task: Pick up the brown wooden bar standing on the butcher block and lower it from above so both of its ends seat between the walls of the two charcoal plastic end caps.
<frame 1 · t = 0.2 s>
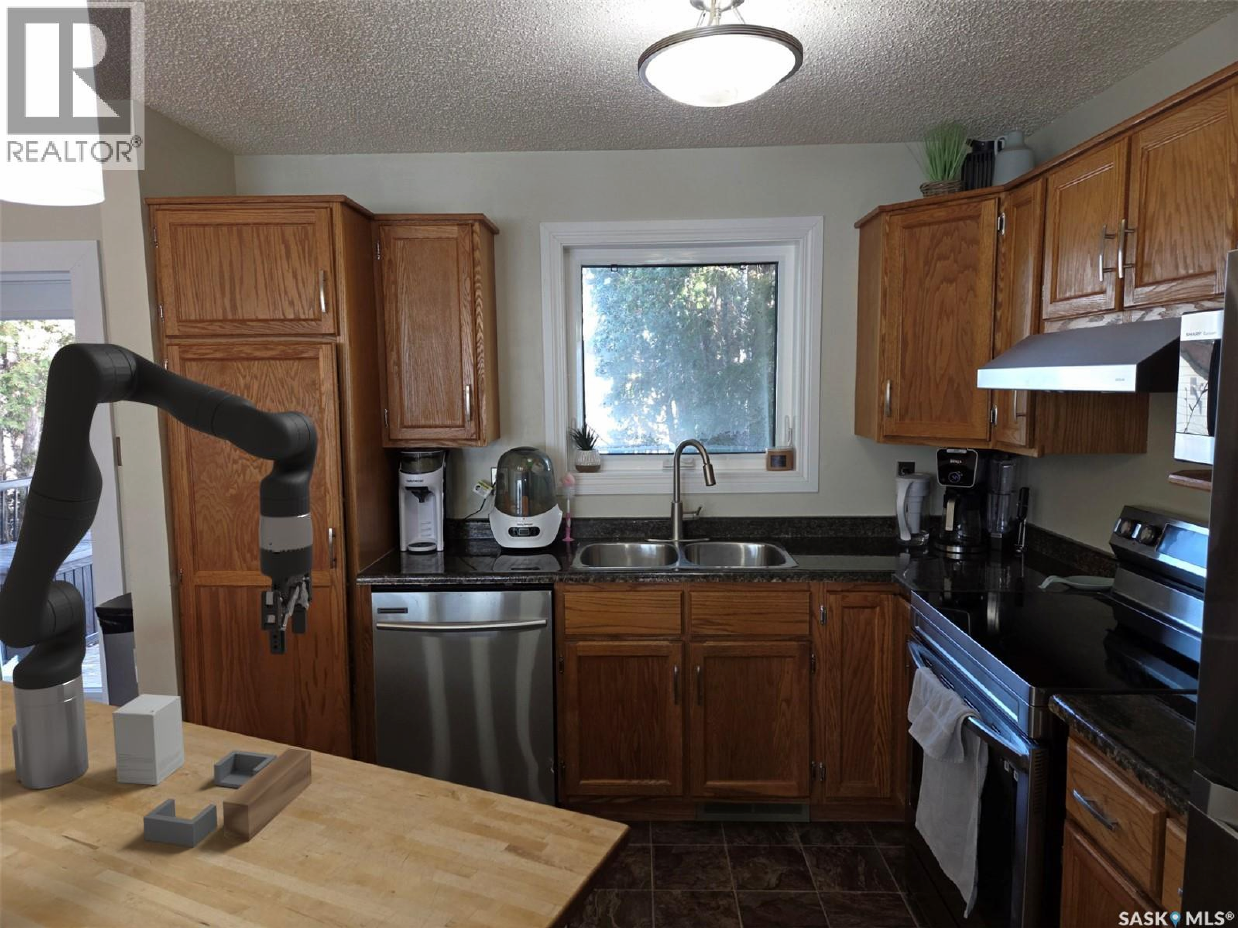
hand: (289, 643, 118), 27 cm above the worktop, fingers open, 8 cm apart
brown wooden bar: (270, 809, 120), on the worktop
endcap b: (246, 779, 128), on the worktop
endcap a: (181, 833, 114), on the worktop
supplement box: (151, 773, 130), on the worktop
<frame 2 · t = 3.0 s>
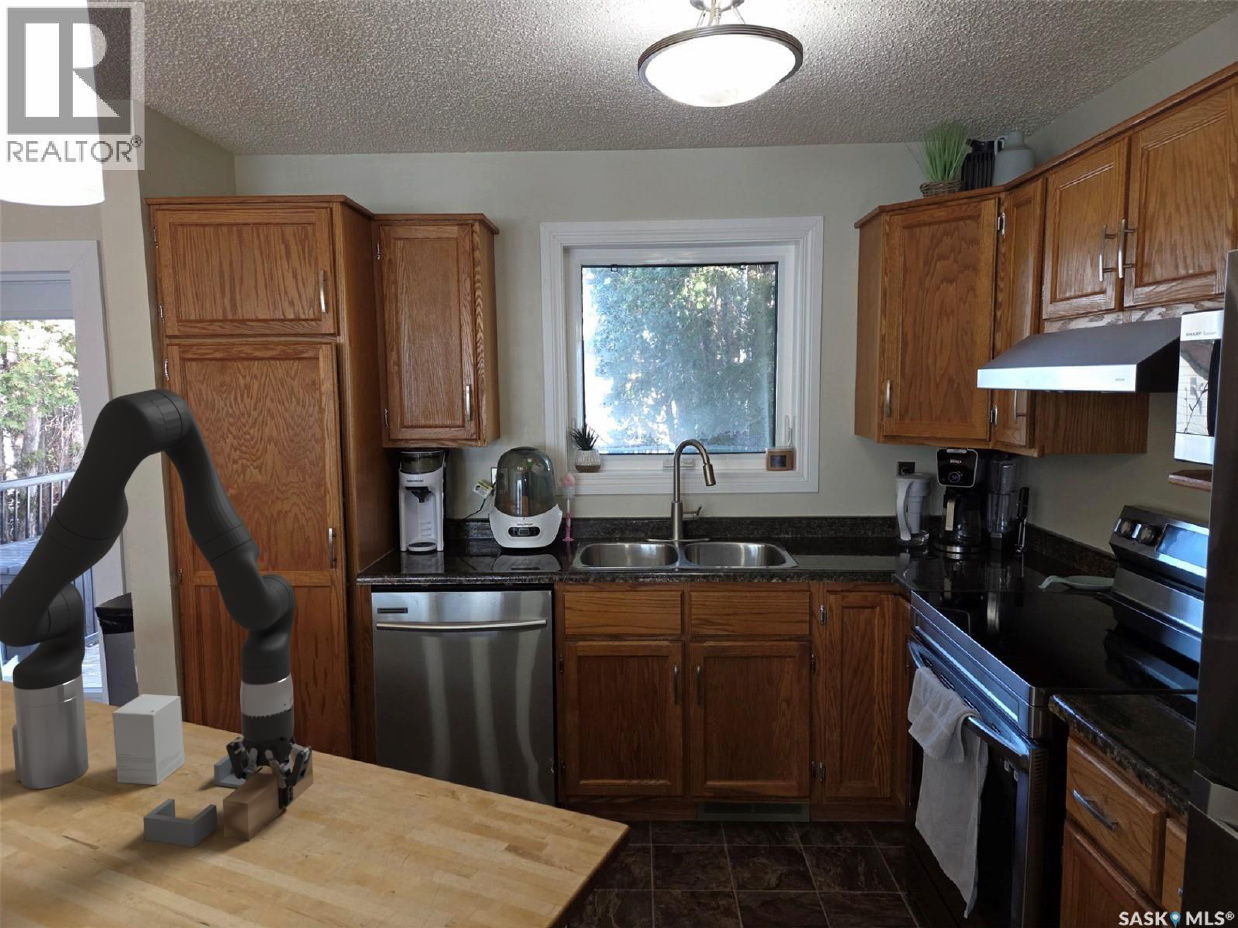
hand: (271, 803, 120), 1 cm above the worktop, fingers closed on brown wooden bar, 4 cm apart
brown wooden bar: (271, 808, 120), on the worktop, touching gripper
everything else where it was.
when the fingers open (2 cm above the worktop, at t = 7.0 s): brown wooden bar stays where it is, resting on endcap a, endcap b.
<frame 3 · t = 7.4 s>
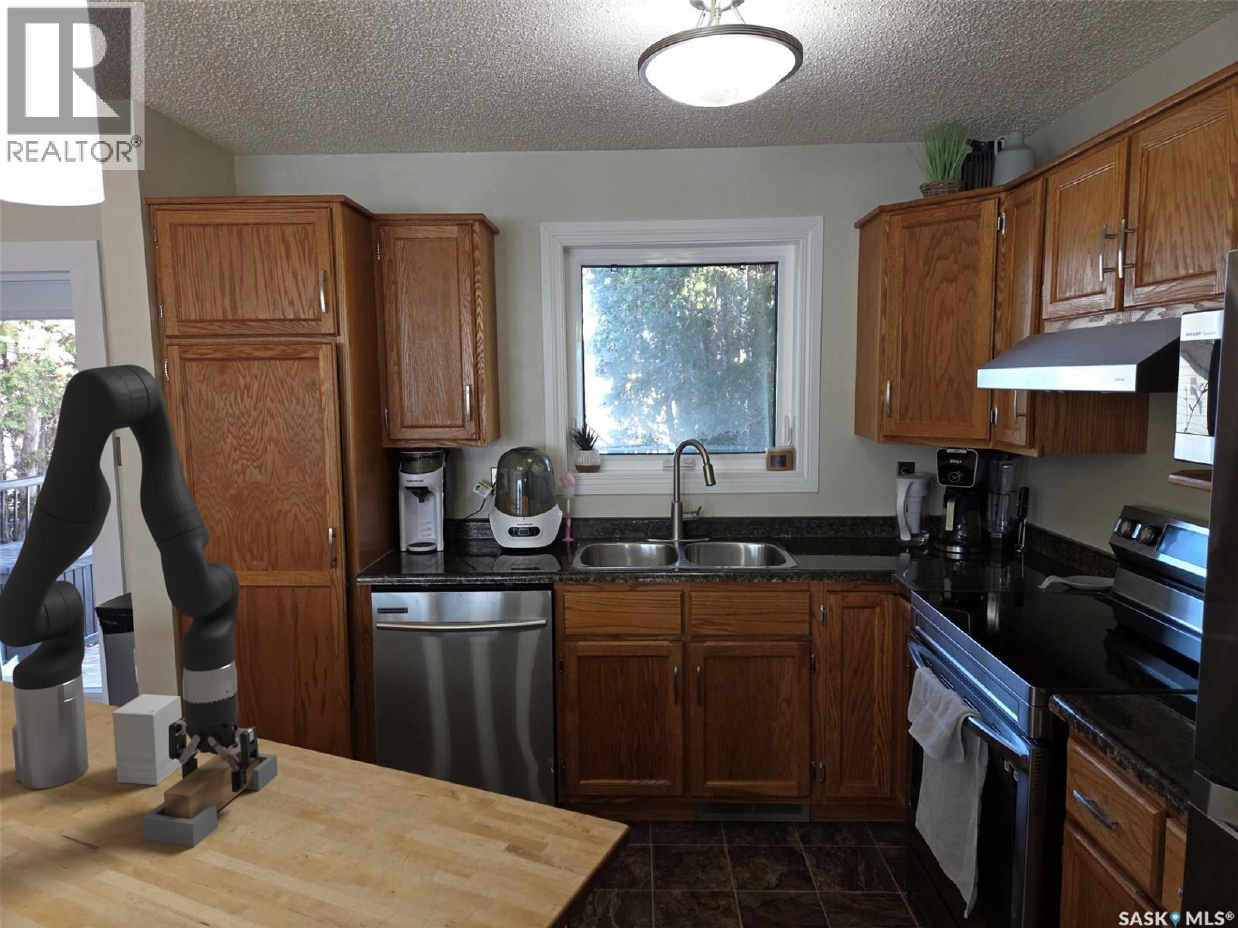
hand: (215, 786, 120), 3 cm above the worktop, fingers open, 8 cm apart
brown wooden bar: (215, 801, 121), point 1 cm above the worktop, touching endcap a, endcap b
everything else where it was.
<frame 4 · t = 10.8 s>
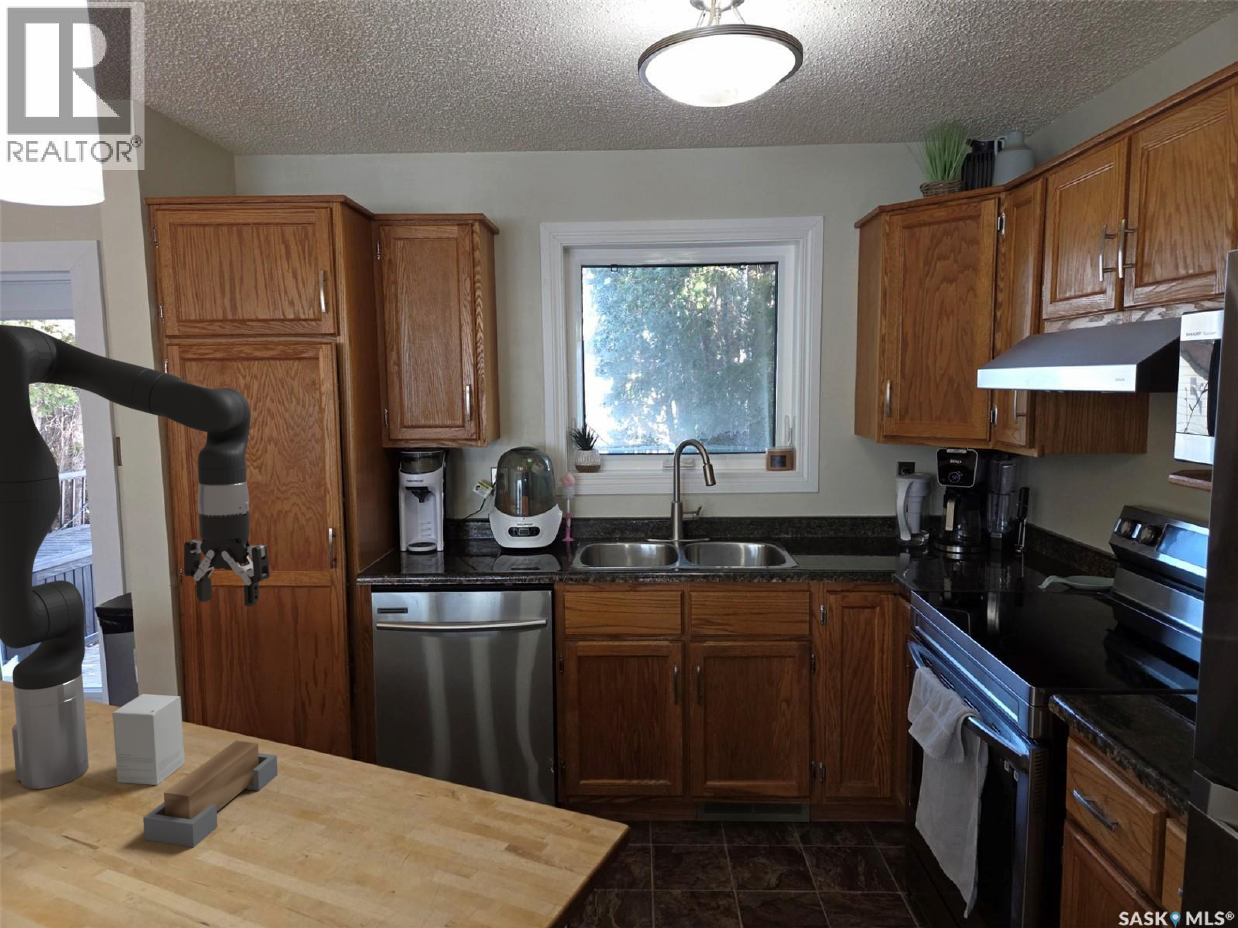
hand: (228, 602, 127), 30 cm above the worktop, fingers open, 8 cm apart
nothing on the worktop moved.
at the end: brown wooden bar 0.1 cm from the target spot, point 0.6 cm above the worktop; brown wooden bar tilted 0°; the gripper is holding nothing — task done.
